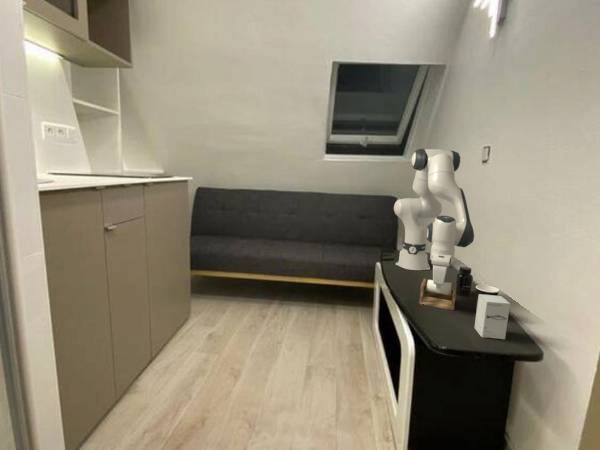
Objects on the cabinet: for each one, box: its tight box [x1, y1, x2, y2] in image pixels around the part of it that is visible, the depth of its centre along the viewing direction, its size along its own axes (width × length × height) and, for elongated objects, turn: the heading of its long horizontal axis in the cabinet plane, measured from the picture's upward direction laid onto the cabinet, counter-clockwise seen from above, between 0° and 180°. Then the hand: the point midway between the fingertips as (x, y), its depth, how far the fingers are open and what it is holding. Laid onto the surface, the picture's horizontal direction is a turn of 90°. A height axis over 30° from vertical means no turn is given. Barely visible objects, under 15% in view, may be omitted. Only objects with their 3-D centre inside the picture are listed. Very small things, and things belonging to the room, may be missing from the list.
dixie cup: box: [475, 284, 501, 312], centre depth 130 cm, size 8×8×11 cm
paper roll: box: [426, 279, 453, 295], centre depth 141 cm, size 9×5×5 cm, turn 64°
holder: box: [418, 278, 457, 311], centre depth 141 cm, size 13×10×8 cm
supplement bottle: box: [454, 266, 474, 297], centre depth 153 cm, size 7×7×12 cm
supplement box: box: [474, 294, 511, 340], centre depth 115 cm, size 7×7×13 cm
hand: (438, 289), depth 141 cm, fingers closed on paper roll, 5 cm apart
